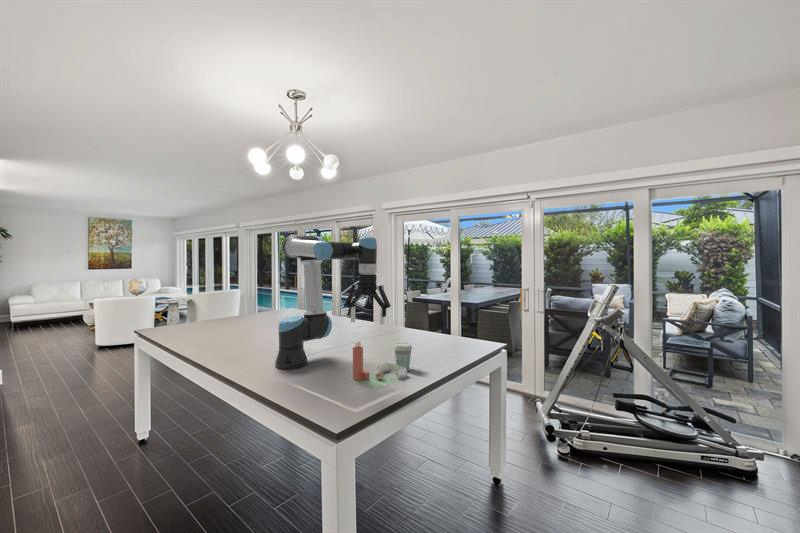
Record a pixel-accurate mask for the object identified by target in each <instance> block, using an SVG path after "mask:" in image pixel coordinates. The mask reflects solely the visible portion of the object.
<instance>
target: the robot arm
mask: <svg viewBox="0 0 800 533" xmlns="http://www.w3.org/2000/svg"><path fill="white" fill-rule="evenodd" d="M377 244H378V243H377V238H376V237H369V236H366V237H365V236H363V237H360V238H359V239H358V242H356V241H354V242H353V241H352V242H349V241H341V242H340V241H326V240H325V239H323V237H321V236H318V235H300V234H299V235H298V234H296V235H295V234H294V235H289V236H287V237H285V238H283V240H282V242H281V248H280V249H281V251H282V253H283V254H284V255H285V256H287V257H289V258H293V259H299V260H300V263H301V264H303V276H304V278H303V279H304V292H305V307H306V311H305V313H303V316H302V315H292V316H288V317H284V318H282V319H281V320H280V321H278V352H277V355H276V359H275V362H274V365H275V368H277V369H279V370H280V369H281V370H294V369H299V368H302V367H305V366H306V365H307V364H308V357H307V354H306V352H305V348H304V345H305V344H304V342H308V341H315V340H322V339H324V338H327V337H329V335H330V333H331V332H332V328H333V321H332V319H331V317H330V316H329V315H328V314H327V311H326V310H325V309H324V297H323V296H324V295H323V286H322V285H323V284H322V282H323V281H322V270H321V269H322V268H321V264H322V263H323V261H326V260H351V261H352V260H358V273H359V274H358V284H356V283H355V284H352V285H351V290H350V292H349V294H348V297H347V299H346V301H345V304H344V305H345V306H346V307H348V309H349V310H348V314H349V315H350V323H355V322H356V306H355V305H356V304H357V302H358V301H359V300H360V299H361V297H362V296H368V297H369V296H372V298H373V299H374V300H375V301H376V302H377V304H378V306H379V307H380V311H379V325H380V326H383V325H384V324H385V317H387V309H389V308H390V307H391V302H390V301H389V299H388V297H387V295H386V292H385V288H384V287H385V286H384V285H382V284H381V285H377V274H376V273H377V272H378V271H377V258H378V257H377V256H378V254H377V253H378V252H377V251H378V250H377V248H378V245H377ZM357 290H359V291H358V293H357V294H356V292H357ZM377 291H378V292H379V294H380V295H379V294H378V292H377ZM355 294H356V295H355ZM354 296H355V297H354Z"/></svg>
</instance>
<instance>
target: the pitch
mask: <svg viewBox="0 0 800 533" xmlns="http://www.w3.org/2000/svg"><path fill="white" fill-rule="evenodd" d="M368 372H369V380H364V379H363V380H360V381H356V380H353V376H352V377H349V378H347V379H346V380H348V381H350V382H353V383H356V384H359V385H361V386H365V387H367V388H370V389H373V390H375V391H377V390H380V389H382V388H385V387H387V386H389V385H392V384H394V383H396V382H399V381H400V379H396V378H394V377H391V376H388V375H385V374H384V377H383V379H381V380H378V379H377V378H376V373H377V372H374V371H372V370H371V371H369V370H368Z"/></svg>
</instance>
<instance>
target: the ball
mask: <svg viewBox="0 0 800 533" xmlns="http://www.w3.org/2000/svg"><path fill="white" fill-rule="evenodd" d="M375 373H376V378H377V379H378V380H381V379H383V377H384V375H385V374H384V372H381V371H378V370H377V371H376V372H375Z"/></svg>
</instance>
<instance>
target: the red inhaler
mask: <svg viewBox="0 0 800 533" xmlns="http://www.w3.org/2000/svg"><path fill="white" fill-rule="evenodd" d="M361 344H362V342H361V341H359V340H357V341H355V343H354V346H353V347H352V377H353V380H356V381H360V380H363V379H364V380H369V371H366V370H364V347H363V346H362V345H361Z"/></svg>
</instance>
